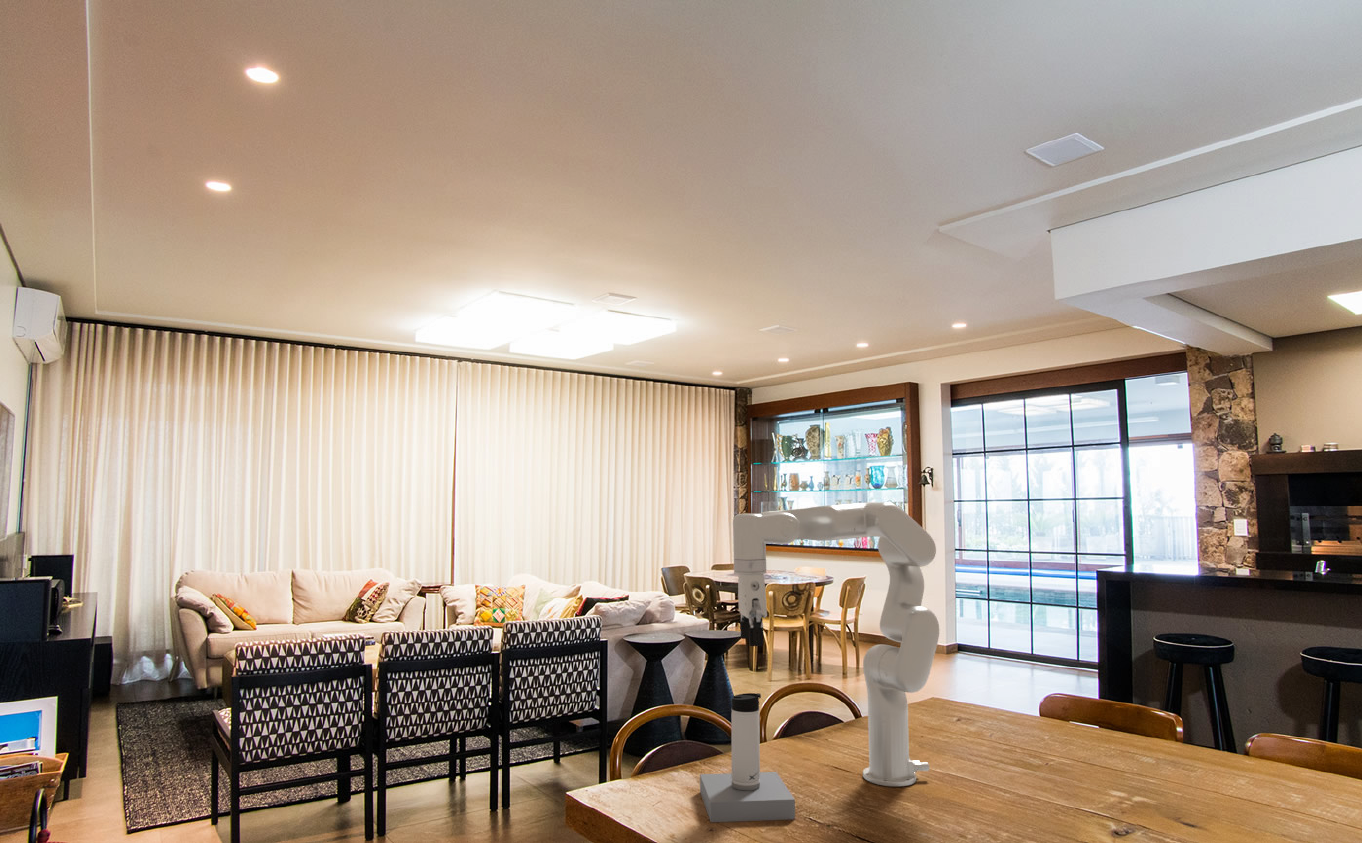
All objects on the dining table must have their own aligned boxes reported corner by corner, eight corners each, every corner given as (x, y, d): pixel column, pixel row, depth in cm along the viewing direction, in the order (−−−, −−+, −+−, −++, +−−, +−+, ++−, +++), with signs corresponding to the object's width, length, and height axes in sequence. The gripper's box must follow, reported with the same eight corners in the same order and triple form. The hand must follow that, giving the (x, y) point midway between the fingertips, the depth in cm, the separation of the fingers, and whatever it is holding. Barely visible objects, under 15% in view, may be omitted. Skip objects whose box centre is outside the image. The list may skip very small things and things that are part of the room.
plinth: (776, 789, 189) (776, 771, 189) (795, 818, 171) (794, 799, 172) (700, 791, 187) (700, 774, 188) (710, 822, 169) (710, 802, 170)
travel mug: (759, 792, 176) (759, 697, 178) (729, 789, 177) (729, 695, 179) (762, 782, 182) (762, 691, 184) (733, 780, 183) (733, 689, 185)
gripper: (774, 569, 180) (776, 648, 178) (757, 563, 197) (759, 635, 196) (741, 570, 179) (743, 649, 178) (727, 564, 196) (729, 636, 195)
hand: (751, 641), depth 187 cm, fingers open, 9 cm apart
